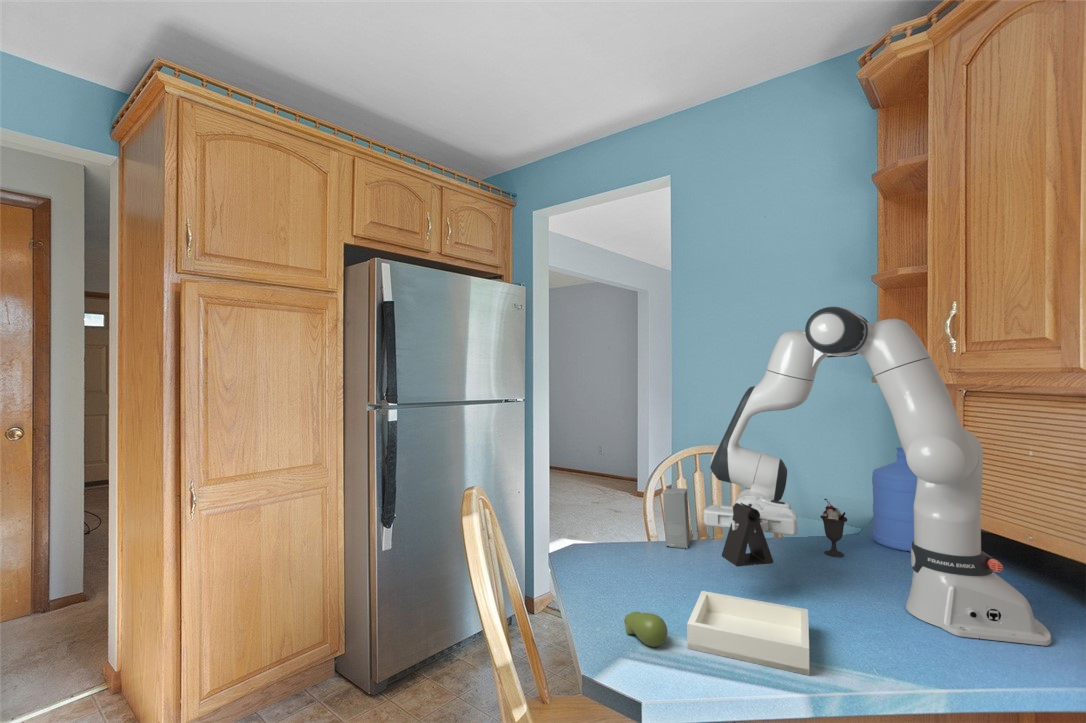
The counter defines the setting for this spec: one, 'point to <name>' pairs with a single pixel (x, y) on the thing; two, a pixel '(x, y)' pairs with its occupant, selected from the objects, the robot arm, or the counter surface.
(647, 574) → the counter surface
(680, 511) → the skincare box
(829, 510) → the sundae
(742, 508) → the phone stand
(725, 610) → the tray
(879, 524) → the water jug
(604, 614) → the counter surface
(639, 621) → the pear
